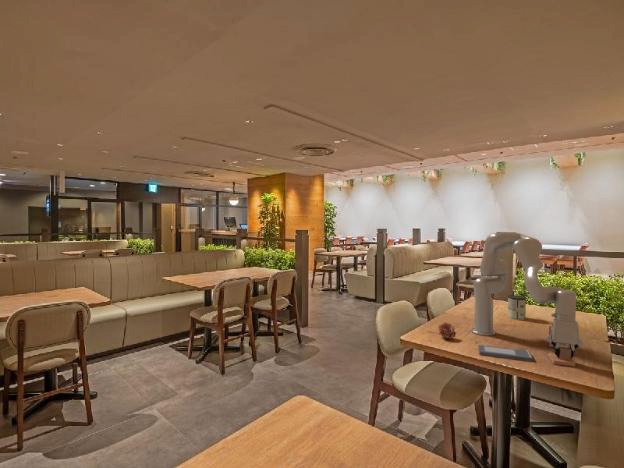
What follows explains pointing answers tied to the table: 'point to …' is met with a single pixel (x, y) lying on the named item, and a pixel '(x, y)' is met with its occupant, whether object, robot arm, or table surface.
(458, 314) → the table surface
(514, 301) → the coffee can
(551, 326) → the printed box
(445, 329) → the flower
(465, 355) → the table surface
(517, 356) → the ticket board
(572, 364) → the stub
